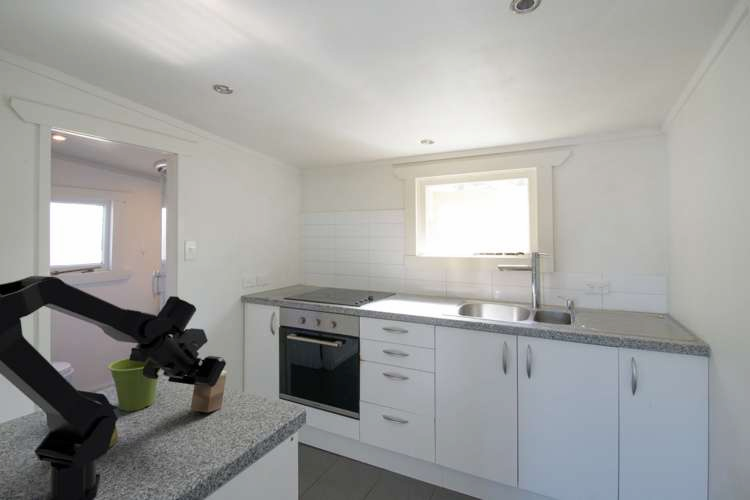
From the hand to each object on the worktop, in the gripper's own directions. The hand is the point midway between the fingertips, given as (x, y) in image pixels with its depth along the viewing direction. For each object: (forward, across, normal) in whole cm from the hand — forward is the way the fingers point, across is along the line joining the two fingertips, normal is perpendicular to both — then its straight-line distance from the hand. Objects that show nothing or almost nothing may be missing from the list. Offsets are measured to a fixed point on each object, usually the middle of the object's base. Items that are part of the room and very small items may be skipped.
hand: (202, 383), depth 86 cm
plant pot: (+4, +19, +6) cm, 21 cm away
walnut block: (+6, 0, +4) cm, 7 cm away
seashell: (-8, +11, +18) cm, 22 cm away
